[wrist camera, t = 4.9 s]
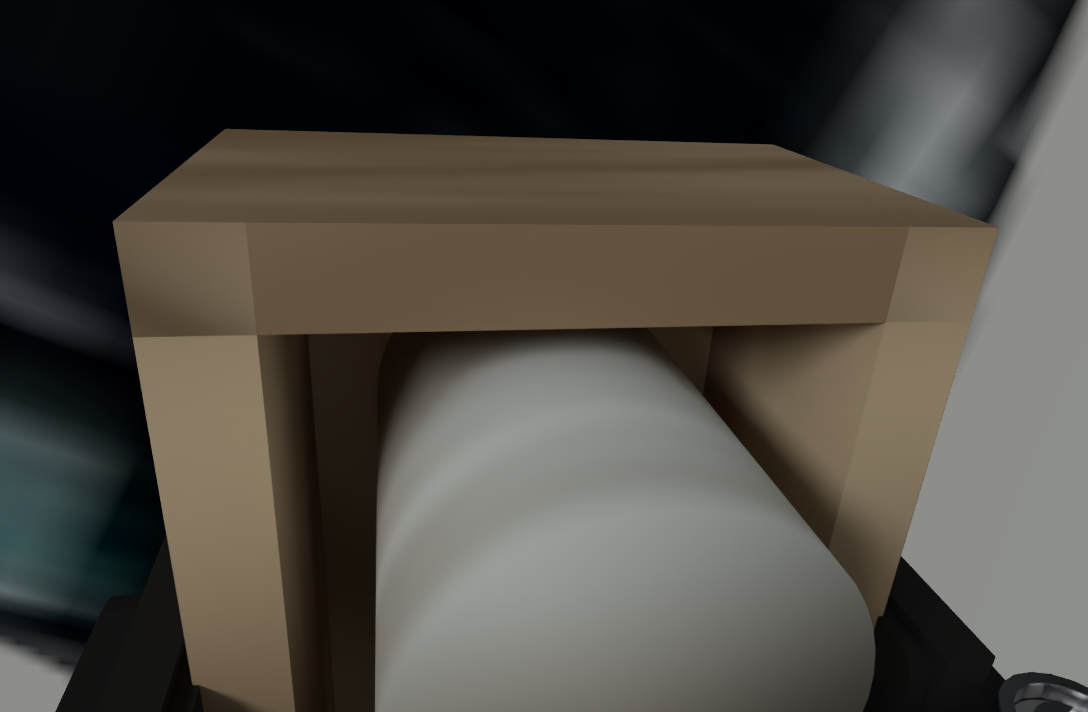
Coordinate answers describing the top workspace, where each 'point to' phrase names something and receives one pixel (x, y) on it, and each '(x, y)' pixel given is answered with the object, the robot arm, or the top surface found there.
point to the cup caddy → (538, 417)
